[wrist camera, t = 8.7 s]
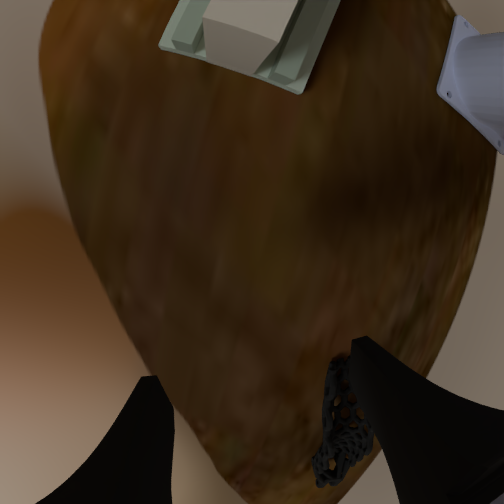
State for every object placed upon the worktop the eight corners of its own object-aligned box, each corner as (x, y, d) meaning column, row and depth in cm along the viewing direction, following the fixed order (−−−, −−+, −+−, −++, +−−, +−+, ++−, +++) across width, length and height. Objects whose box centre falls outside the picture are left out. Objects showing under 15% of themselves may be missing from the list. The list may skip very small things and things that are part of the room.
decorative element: (312, 358, 24) (333, 414, 18) (368, 345, 24) (397, 394, 18) (306, 467, 33) (315, 502, 28) (342, 458, 33) (353, 492, 28)
